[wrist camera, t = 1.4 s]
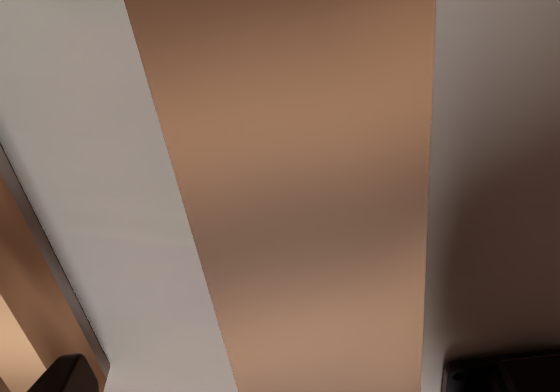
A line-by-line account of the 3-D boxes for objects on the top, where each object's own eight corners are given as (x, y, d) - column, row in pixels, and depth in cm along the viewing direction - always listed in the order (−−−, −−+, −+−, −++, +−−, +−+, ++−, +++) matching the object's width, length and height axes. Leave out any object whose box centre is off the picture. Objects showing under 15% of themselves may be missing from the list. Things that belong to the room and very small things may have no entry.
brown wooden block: (385, 293, 20) (419, 416, 15) (252, 309, 20) (251, 434, 16) (376, -158, 12) (441, -149, 7) (152, -123, 12) (96, -95, 8)
